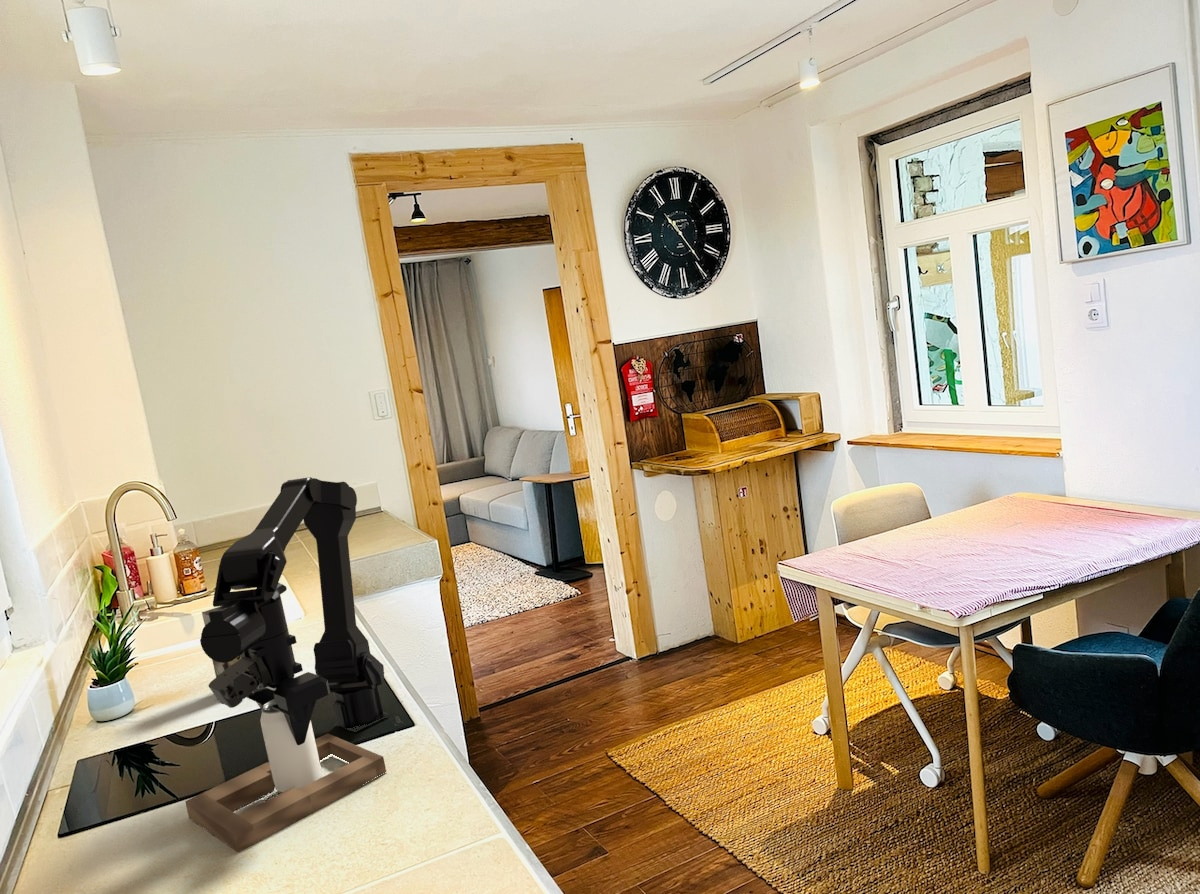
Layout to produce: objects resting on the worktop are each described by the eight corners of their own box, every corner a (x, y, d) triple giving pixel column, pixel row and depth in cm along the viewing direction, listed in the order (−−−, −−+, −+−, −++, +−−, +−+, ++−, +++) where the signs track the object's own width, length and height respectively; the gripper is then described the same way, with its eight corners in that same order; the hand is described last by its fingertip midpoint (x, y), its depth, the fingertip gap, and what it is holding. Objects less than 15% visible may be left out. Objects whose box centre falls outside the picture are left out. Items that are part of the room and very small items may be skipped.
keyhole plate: (331, 748, 145) (327, 733, 144) (386, 772, 133) (383, 756, 133) (189, 817, 130) (184, 801, 129) (237, 852, 118) (233, 834, 118)
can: (309, 766, 137) (292, 690, 135) (331, 778, 132) (313, 698, 131) (267, 787, 133) (249, 708, 131) (288, 799, 128) (270, 717, 126)
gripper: (182, 646, 130) (207, 750, 133) (239, 666, 117) (266, 782, 119) (257, 618, 138) (280, 717, 140) (319, 634, 125) (343, 744, 127)
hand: (290, 739), depth 132 cm, fingers closed on can, 6 cm apart
